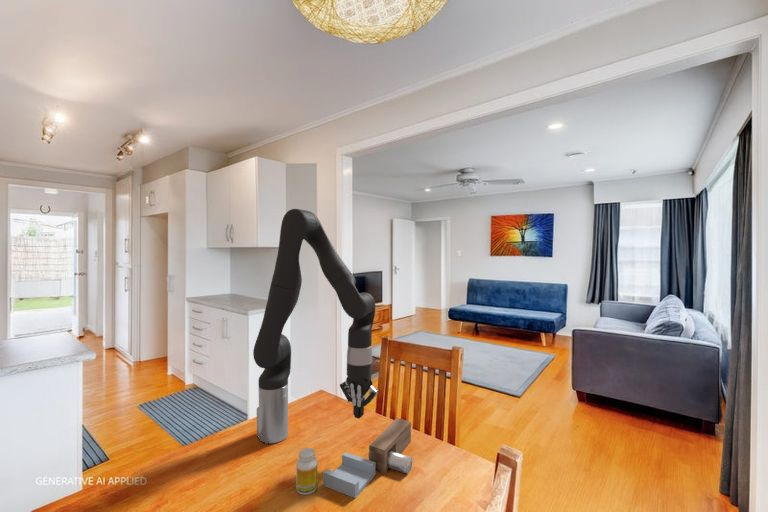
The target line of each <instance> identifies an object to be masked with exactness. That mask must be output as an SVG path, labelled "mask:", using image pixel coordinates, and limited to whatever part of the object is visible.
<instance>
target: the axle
mask: <svg viewBox="0 0 768 512" xmlns="http://www.w3.org/2000/svg"><path fill="white" fill-rule="evenodd" d="M367 458H368V459H367V460H369V453H368V456H367ZM412 467H413V457H412V456H409V455H406V454H403V453H401V454H400V453H396V452H393V451H390V450H389V451H388V452H387V469H392V470H394V471H397V472H400V473H403V474H406V475H409V473H411V471H412Z"/></svg>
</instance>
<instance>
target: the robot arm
mask: <svg viewBox="0 0 768 512" xmlns="http://www.w3.org/2000/svg"><path fill="white" fill-rule="evenodd" d="M303 241H305V242H306V243H307V244H308V245H309V246H310V247H311V248H312V249H313V251H314V253H315V254H316V257H317V260H318V263H319V266H320V269H321V272H322V274H323V276H324V277H325V279H327V282H328V283H329V284H330V285H331V287H332V289H334V291H335V293H336V294H337V295H336V296H337V298H338V300H339V302H340V304H341V307H342V309H343V311H344V312H345V314H346V315H347V316H348V317H350V318H351V319H353V321H352V324H351V325H350V326H349V329H348V335H347V351H346V376H347V377H346V379H345V381H343V382H342V383H339V387H340V389H341V391H342V393H343V395H344V397H345V398H346V400H347V401H348V403H351V404H352V407H353V411H352V413H353V416H354V418H355V419H361V418H362V417H363V416H364V413H365V407H366V406H367V405H369V404H370V403H371V402H372V401H373V400H374V398H375V397H376V396H377V395H378V394H379V393H380V390H379V389H378V388H375V387H374V386H373V381H372V376H373V350H372V349H373V347H372V342H373V341H372V340H373V338H372V336H373V335H372V330H373V325H374V321H375V317H376V316H375V315H376V301H375V298H374V297H373V295H372V294H370V293H369V292H359V291H358V289H357V287H356V283H357V280H356V278H355V276H354V275H353V273H352V272H351V271H350V269H349V267H348V266H347V265H346V264H345V262H344V261H343V260H342V258H341V257H340V255H339V254H338V252H337V251H336V249H335V247H334V245H333V244H332V242H331V240H330V238H329V237H328V235H327V232H326V231H325V229H324V227H323V225H322V222H321V221H320V220H319V218H318V216H317V215H316V214H315V213H313V212H312V211H309V210H305V209H300V208H291V209H289V210H287V212H285V214H284V215H283V217H282V221H281V226H280V233H279V241H278V243H279V244H278V249H277V250H278V251H277V254H276V260H275V265H274V270H273V274H272V278H271V282H270V286H269V291H268V295H267V302H266V305H265V309H264V312H263V313H264V314H263V318H262V321H261V324H260V325H261V326H260V328H259V331H258V335H257V337H256V340H255V343H254V346H253V350H252V351H253V354H252V355H253V360H254V363H255V364H256V366H258V367H259V368H261V369H263V371H262V373H261V374H260V376H259V377H258V407H257V408H256V437H257V436H259V437H258V439H260V440H259V441H260V442H261V441H262V442H261V443H263V442H265V443H264V444H268V443H269V444H270V445H271V444H276V443H279V442H282V441H284V440H285V439H286V438H287V437H288V436H289V377H290V374H291V366H292V365H291V364H292V345H291V343H290V340H289V339H288V337H287V336H286V335H284V334H282V333H283V329H284V327H285V325H286V323H287V322H288V319H290V316H291V315H292V313H293V311H294V309H295V308H296V305H297V303H298V301H299V297H300V294H301V293H300V292H301V287H302V283H303V278H302V271H301V265H300V252H301V247H302V244H303ZM367 393H368V396H367ZM269 444H268V445H269Z"/></svg>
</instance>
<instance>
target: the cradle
mask: <svg viewBox="0 0 768 512" xmlns="http://www.w3.org/2000/svg"><path fill="white" fill-rule="evenodd" d="M376 472H377V471H376V462H373V461H370V460H368V459H367V458H364V457H361V456H358V455H355V454H352V453H349V452H346V451H345V452H343V454H342V455H341V464H340V465H339V466H337V468H336V469H335V470H331V469H329V468H326V469H325V470H324V471H323V472H322V483H323V484H322V485H323V486H324V487H327V488H329V489H331V490H334V491H335V492H338V493H341V494H342V495H345V496H348V497H350V498H354V499H356V498H357V497H358V496H359V495H360V494H361V493H362V492H363V490H364V489H365V488H366V487H367V486H368V484H369V483H370V482H371V481H372V480H373V478H374V477H375V476H376V475H377V473H376Z"/></svg>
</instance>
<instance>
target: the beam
mask: <svg viewBox="0 0 768 512" xmlns="http://www.w3.org/2000/svg"><path fill="white" fill-rule="evenodd" d="M411 435H412V421H410V420H405V419H403V418H398V417H396V418H395V419H394V420H393V421H392V422H391V423H390V424H389V425H388V426H387V427H386V428H385V429H384V430H383V431H382V432H381V433H380V434H379V435H378V436H376V438H375V439H374V440H372V442H371V443H370V444H369V445H368V454H369V460H370V461H373V462H376V472H379V473H381V474H386V473H387V472H388V467H387V452H388V451H389V450H390V451H393V452H396V453H400V454H403V452H404V451H405V450H406V448H407V447H408V446H409V445H410V443H411V442H412V440H411V439H412V436H411Z"/></svg>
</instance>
